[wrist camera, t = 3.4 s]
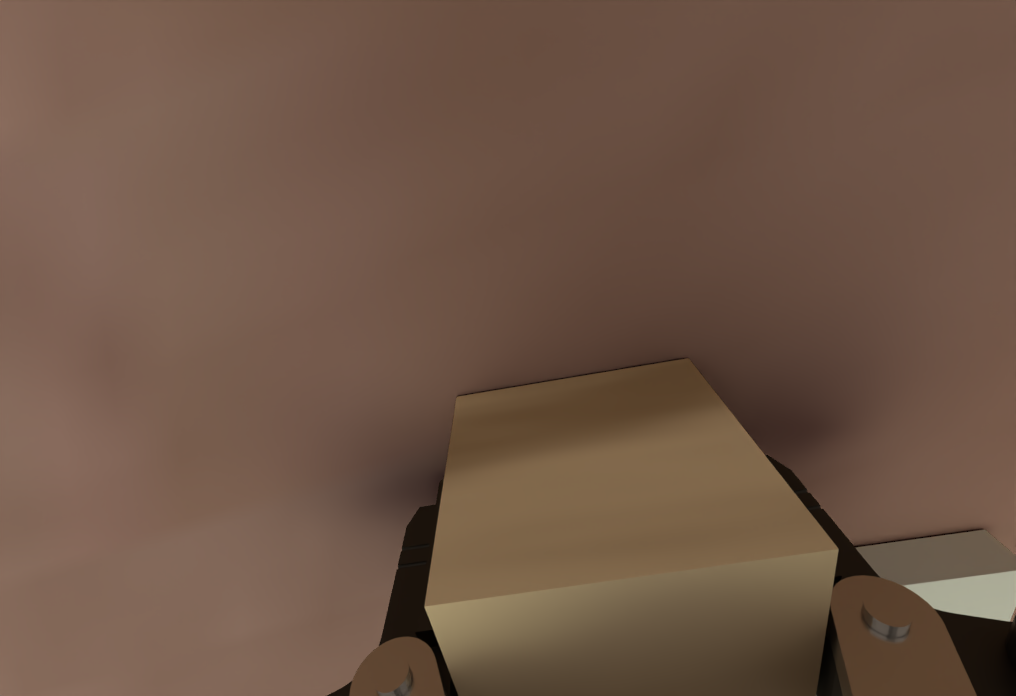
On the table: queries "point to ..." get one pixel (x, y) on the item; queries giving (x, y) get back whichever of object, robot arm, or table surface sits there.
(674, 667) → the birch block
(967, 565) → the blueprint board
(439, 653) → the robot arm
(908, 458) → the table surface
